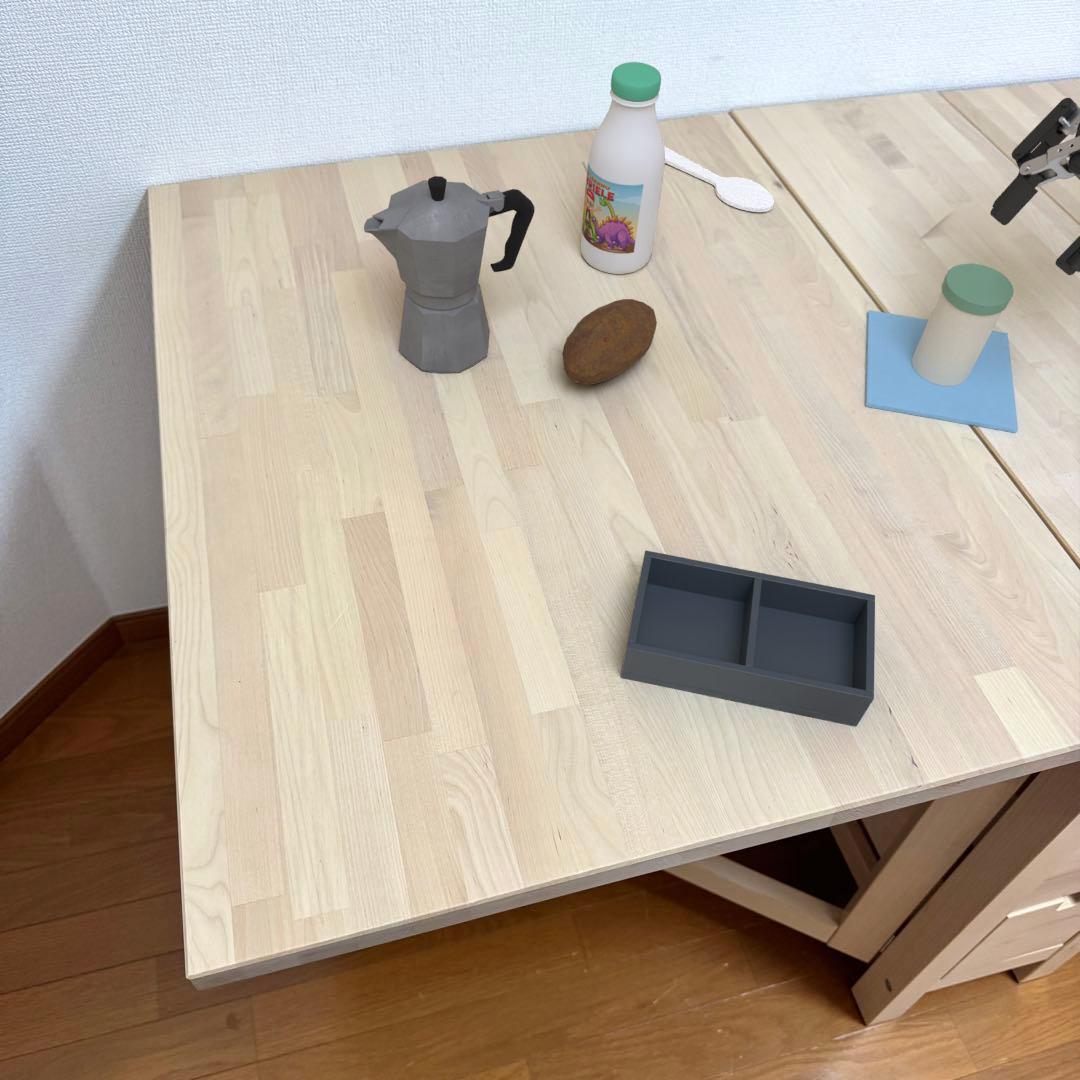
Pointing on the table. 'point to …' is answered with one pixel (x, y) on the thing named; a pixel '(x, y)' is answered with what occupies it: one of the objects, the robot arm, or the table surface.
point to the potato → (609, 341)
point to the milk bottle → (625, 174)
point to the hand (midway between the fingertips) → (1028, 244)
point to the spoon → (726, 185)
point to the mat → (907, 392)
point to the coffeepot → (446, 266)
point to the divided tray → (752, 638)
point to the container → (961, 323)
